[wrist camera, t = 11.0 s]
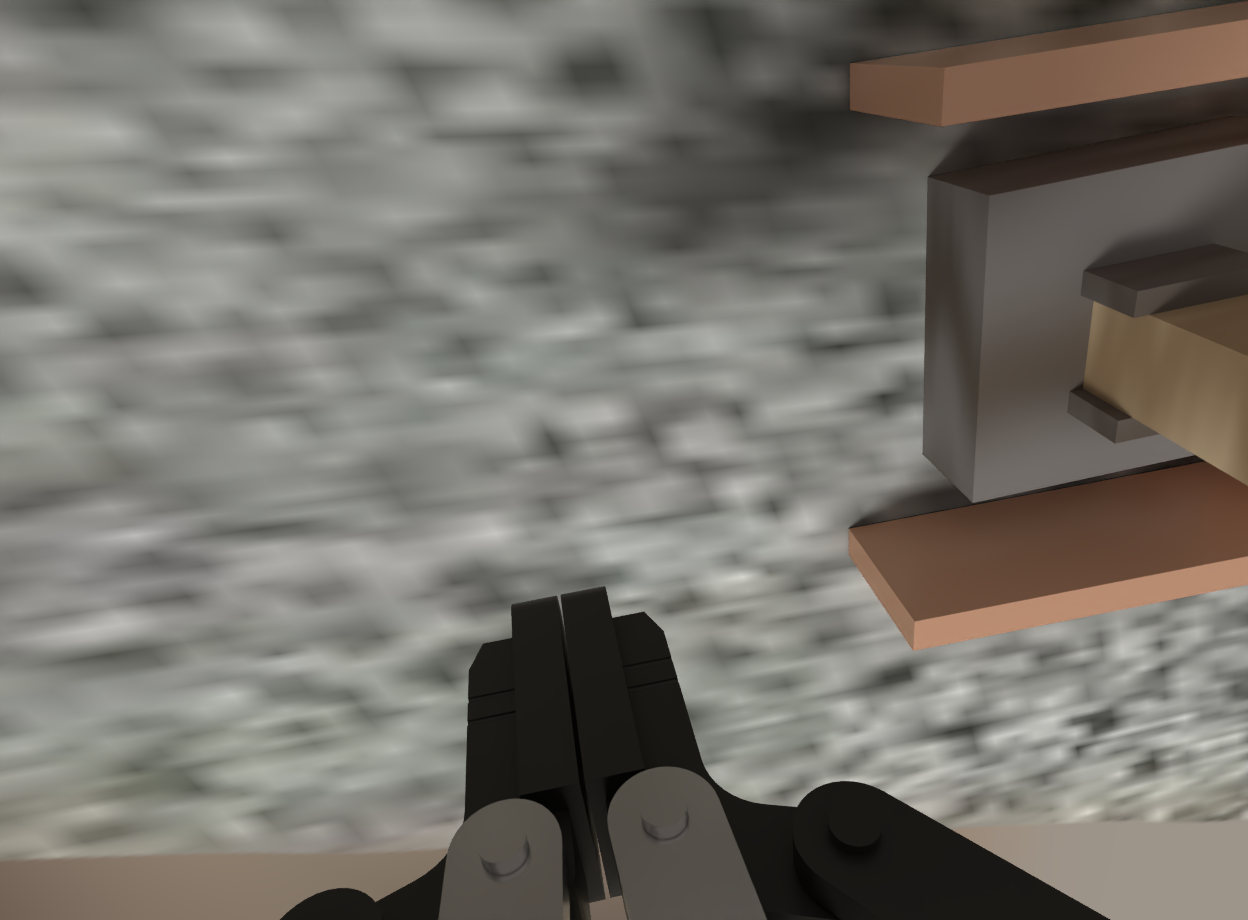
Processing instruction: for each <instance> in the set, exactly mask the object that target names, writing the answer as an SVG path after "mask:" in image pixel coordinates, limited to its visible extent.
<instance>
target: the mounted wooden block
mask: <svg viewBox="0 0 1248 920" xmlns="http://www.w3.org/2000/svg"><path fill="white" fill-rule="evenodd" d="M923 455H924V456H925V457H926V458H927V459H928V460H929V461H930V462H931V463H932V464H933V465H934V466H935V467H936V468H937V469H938V470H940V471H941V472H942V473H943V474H944V475H945V476H946V477H947V478H948V479H949V480H950V481H951V482H952V483H953V484H954V485H955V486H956V487H957V488H958V489H959V490H960V491H961V492H962V493H963V494H964V495H965V496H966V497H967V498H968V499H969V500H970V501H971V502H972V503H975V502H979V501H984V500H989V499H993V498H998V497H1003V496H1007V495H1012V494H1017V493H1021V492H1026V491H1030V490H1035V489H1040V488H1044V487H1049V486H1054V485H1058V484H1063V483H1068V482H1072V481H1077V480H1081V479H1086V478H1091V477H1095V476H1100V475H1105V474H1109V473H1114V472H1118V471H1123V470H1128V469H1132V468H1137V467H1142V466H1146V465H1151V464H1156V463H1160V462H1165V461H1169V460H1174V459H1179V458H1183V457H1188V456H1193V455H1196V456H1198V457H1200V458H1201V459H1203V460H1205V461H1207V462H1208V463H1210V464H1212V465H1213V466H1215V467H1217V468H1218V469H1220V470H1222V471H1223V472H1225V473H1227V474H1229V475H1230V476H1232V477H1234V478H1235V479H1237V480H1239V481H1240V482H1242V483H1244V484H1245V485H1247V486H1248V118H1243V117H1233V116H1230V117H1225V118H1220V119H1215V120H1210V121H1205V122H1200V123H1195V124H1190V125H1185V126H1180V127H1175V128H1170V129H1165V130H1160V131H1155V132H1150V133H1145V134H1140V135H1135V136H1130V137H1125V138H1120V139H1115V140H1110V141H1105V142H1100V143H1095V144H1090V145H1085V146H1080V147H1075V148H1070V149H1065V150H1060V151H1055V152H1050V153H1045V154H1040V155H1035V156H1030V157H1025V158H1020V159H1015V160H1010V161H1005V162H1000V163H995V164H990V165H985V166H980V167H975V168H970V169H965V170H960V171H955V172H950V173H945V174H940V175H935V176H930V177H928V193H927V247H926V302H925V356H924V410H923Z"/></svg>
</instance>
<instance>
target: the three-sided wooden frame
mask: <svg viewBox="0 0 1248 920" xmlns="http://www.w3.org/2000/svg"><path fill="white" fill-rule="evenodd" d="M1243 77H1248V1H1242V2H1236V3H1230V4H1223V5H1217V6H1211V7H1204V8H1198V9H1192V10H1185V11H1179V12H1173V13H1166V14H1160V15H1154V16H1147V17H1141V18H1135V19H1128V20H1122V21H1116V22H1109V23H1103V24H1096V25H1090V26H1084V27H1077V28H1071V29H1065V30H1058V31H1052V32H1046V33H1039V34H1033V35H1027V36H1020V37H1014V38H1008V39H1001V40H995V41H989V42H982V43H976V44H970V45H963V46H957V47H951V48H944V49H938V50H932V51H925V52H919V53H913V54H906V55H900V56H894V57H887V58H881V59H875V60H868V61H862V62H855V63H850V110H852V111H858V112H863V113H869V114H874V115H880V116H885V117H891V118H896V119H902V120H907V121H913V122H918V123H924V124H929V125H935V126H940V127H943V126H949V125H955V124H961V123H967V122H973V121H979V120H986V119H992V118H998V117H1004V116H1010V115H1016V114H1022V113H1029V112H1035V111H1041V110H1047V109H1053V108H1059V107H1065V106H1072V105H1078V104H1084V103H1090V102H1096V101H1102V100H1108V99H1114V98H1121V97H1127V96H1133V95H1139V94H1145V93H1151V92H1157V91H1164V90H1170V89H1176V88H1182V87H1188V86H1194V85H1200V84H1207V83H1213V82H1219V81H1225V80H1231V79H1237V78H1243ZM849 556H850V557H851V559H852V560H853V562H854V563H855V565H856V566H857V568H858V569H859V571H860V572H861V574H862V575H863V577H864V578H865V580H866V581H867V583H868V584H869V586H870V587H871V589H872V590H873V592H874V593H875V595H876V596H877V598H878V599H879V601H880V602H881V604H882V605H883V607H884V608H885V610H886V611H887V613H888V614H889V615H890V617H891V618H892V620H893V621H894V623H895V624H896V626H897V627H898V629H899V630H900V632H901V633H902V635H903V636H904V638H905V639H906V641H907V642H908V644H909V645H910V647H911V648H912V650H913V651H914V650H919V649H925V648H930V647H935V646H940V645H945V644H950V643H955V642H960V641H965V640H970V639H975V638H980V637H985V636H990V635H995V634H1000V633H1005V632H1010V631H1015V630H1020V629H1026V628H1031V627H1036V626H1041V625H1046V624H1051V623H1056V622H1061V621H1066V620H1071V619H1076V618H1081V617H1086V616H1091V615H1096V614H1101V613H1106V612H1111V611H1116V610H1121V609H1126V608H1132V607H1137V606H1142V605H1147V604H1152V603H1157V602H1162V601H1167V600H1172V599H1177V598H1182V597H1187V596H1192V595H1197V594H1202V593H1207V592H1212V591H1217V590H1222V589H1227V588H1233V587H1238V586H1243V585H1248V486H1247V485H1245V484H1244V483H1242V482H1240V481H1239V480H1237V479H1235V478H1234V477H1232V476H1230V475H1229V474H1227V473H1225V472H1223V471H1222V470H1220V469H1218V468H1217V467H1215V466H1213V465H1212V464H1210V463H1208V462H1207V461H1205V462H1199V463H1194V464H1189V465H1184V466H1178V467H1173V468H1168V469H1162V470H1157V471H1152V472H1147V473H1141V474H1136V475H1131V476H1125V477H1120V478H1115V479H1109V480H1104V481H1099V482H1094V483H1088V484H1083V485H1078V486H1072V487H1067V488H1062V489H1057V490H1051V491H1046V492H1041V493H1035V494H1030V495H1025V496H1020V497H1014V498H1009V499H1004V500H998V501H993V502H988V503H982V504H977V505H972V506H967V507H961V508H956V509H951V510H945V511H940V512H935V513H930V514H924V515H919V516H914V517H908V518H903V519H898V520H893V521H887V522H882V523H877V524H871V525H866V526H861V527H855V528H850V529H849Z"/></svg>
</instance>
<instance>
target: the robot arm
mask: <svg viewBox="0 0 1248 920" xmlns="http://www.w3.org/2000/svg"><path fill="white" fill-rule="evenodd" d="M561 603H562V610H563V618H564V625H563V620H562V615H561V610H560V606H559V601H558V597H557V596H552V597H547V598H542V599H537V600H532V601H527V602H522V603H516V604H512V606H511V616H512V638H510V639H505V640H500V641H494V642H489V643H484V644H483V645H482V647H481V649H480V650H479V652H478V654H477V656H476V658H475V660H474V662H473V664H472V665H471V667H470V669H469V685H468V699H469V703H468V720H467V721H468V726H467V756H466V791H465V815H464V821H463V824H462V826H461V827H460V828H459V829H458V831H457V832H456V834H455V835H454V837H453V839H452V841H451V844H450V846H449V849H448V853H447V854H446V856H445V857H444V858H443V859H442V860H441V861H440V862H439V863H438V864H437V865H436V866H435V867H434V868H433V869H431V870H430V871H429V872H428V873H426V874H425V875H423V876H422V877H420V878H419V879H417V880H415V881H414V882H412V883H410V884H408V885H406V886H405V887H403V888H401V889H399V890H397V891H395V892H393V893H391V894H390V895H388V896H386V897H384V898H382V899H380V900H379V901H377V902H375V901H374V900H373V899H372V898H371V897H370V896H368V895H367V894H366V893H363V892H361V891H359V890H355V889H349V888H337V889H331V890H327V891H324V892H321V893H317V894H315V895H313V896H311V897H309V898H307V899H305V900H304V901H302V902H301V903H299V904H298V905H296V906H295V907H294V908H292V909H291V910H290V911H289V912H287V913H286V914H285V915H284V916H283V917H282V918H281V919H280V920H591V915H590V906H589V903H591V902H595V901H600V900H604V899H605V892H604V885H603V877H602V870H601V863H600V855H599V848H600V852H601V856H602V861H603V866H604V870H605V875H606V880H607V884H608V889H609V893H610V898H611V897H615V896H620V895H622V898H623V902H624V907H625V912H626V916H627V920H1110V919H1108V918H1106V917H1105V916H1103V915H1101V914H1099V913H1098V912H1096V911H1094V910H1092V909H1091V908H1089V907H1087V906H1085V905H1083V904H1082V903H1080V902H1078V901H1076V900H1075V899H1073V898H1071V897H1069V896H1067V895H1066V894H1064V893H1062V892H1060V891H1059V890H1057V889H1055V888H1053V887H1051V886H1050V885H1048V884H1046V883H1045V882H1043V881H1041V880H1039V879H1038V878H1036V877H1034V876H1032V875H1030V874H1029V873H1027V872H1025V871H1023V870H1022V869H1020V868H1018V867H1016V866H1014V865H1013V864H1011V863H1009V862H1007V861H1006V860H1004V859H1002V858H1000V857H999V856H997V855H995V854H993V853H992V852H990V851H988V850H986V849H985V848H983V847H981V846H979V845H977V844H976V843H974V842H972V841H970V840H969V839H967V838H965V837H963V836H962V835H960V834H958V833H956V832H954V831H953V830H951V829H949V828H947V827H946V826H944V825H942V824H940V823H939V822H937V821H935V820H933V819H931V818H930V817H928V816H926V815H924V814H923V813H921V812H919V811H917V810H916V809H914V808H912V807H910V806H909V805H907V804H905V803H903V802H901V801H900V800H898V799H896V798H894V797H893V796H891V795H889V794H887V793H886V792H884V791H882V790H880V789H878V788H875V787H873V786H870V785H867V784H864V783H859V782H852V781H840V782H832V783H828V784H825V785H822V786H820V787H818V788H816V789H814V790H813V791H811V792H810V793H808V794H807V795H806V796H805V797H804V798H803V799H802V800H801V802H800V804H799V805H798V807H789V806H778V805H767V804H759V803H753V802H749V801H746V800H743V799H740V798H738V797H736V796H734V795H732V794H730V793H728V792H727V791H725V790H724V789H722V788H721V787H720V786H719V785H718V784H717V783H715V781H714V780H713V779H712V778H711V777H710V776H709V774H708V772H707V771H706V769H705V767H704V765H703V762H702V759H701V756H700V753H699V749H698V746H697V742H696V739H695V736H694V732H693V729H692V726H691V722H690V719H689V715H688V712H687V709H686V705H685V702H684V698H683V695H682V692H681V688H680V685H679V683H678V679H677V675H676V671H675V668H674V665H673V661H672V659H671V654H670V651H669V648H668V644H667V641H666V638H665V634H664V631H663V630H662V629H661V628H660V627H659V626H658V625H657V624H656V623H655V622H654V621H653V620H652V619H651V618H650V617H649V616H648V615H647V614H646V613H645V612H640V613H635V614H630V615H625V616H620V617H615V618H612V615H611V610H610V606H609V601H608V596H607V592H606V588H605V586H603V587H598V588H592V589H587V590H582V591H577V592H572V593H567V594H562V595H561ZM564 626H565V630H564ZM565 633H566V634H565ZM597 839H598V840H597ZM598 843H599V848H598Z"/></svg>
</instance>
